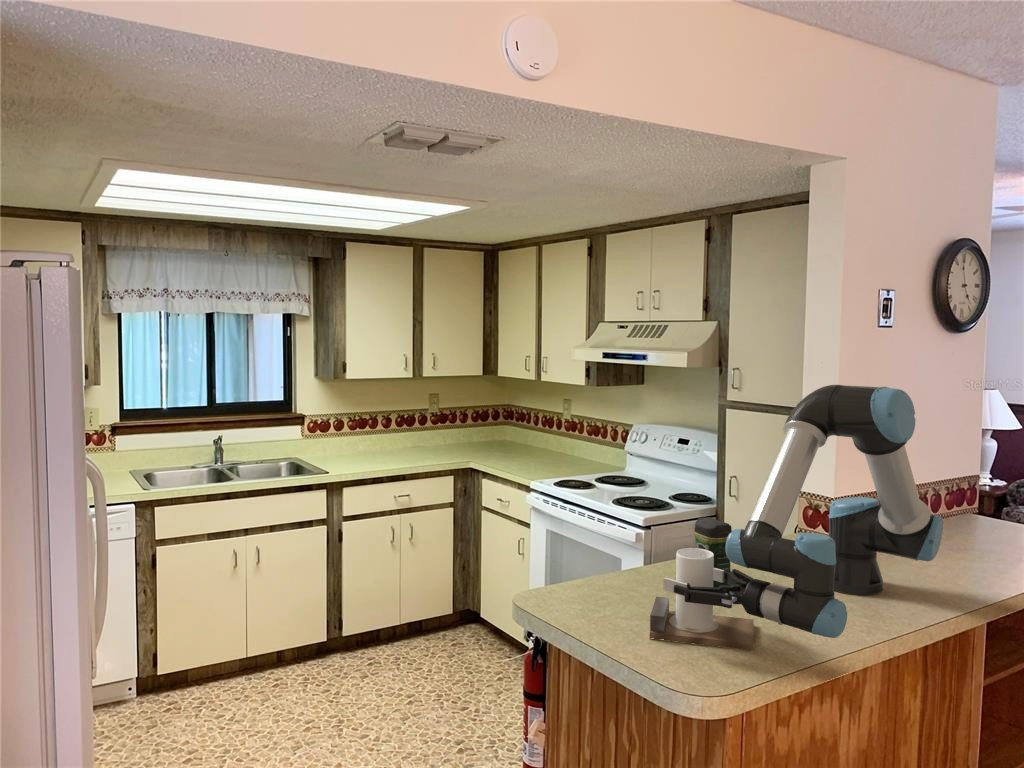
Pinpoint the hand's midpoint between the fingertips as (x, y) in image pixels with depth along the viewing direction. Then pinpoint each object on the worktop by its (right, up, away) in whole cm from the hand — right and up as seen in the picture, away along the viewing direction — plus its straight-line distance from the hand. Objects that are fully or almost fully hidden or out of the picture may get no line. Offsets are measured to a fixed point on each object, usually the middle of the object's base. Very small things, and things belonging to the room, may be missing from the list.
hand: (681, 576), depth 177 cm
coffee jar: (+13, -10, +24) cm, 29 cm away
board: (+4, -12, -3) cm, 13 cm away
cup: (+2, -10, -2) cm, 11 cm away
